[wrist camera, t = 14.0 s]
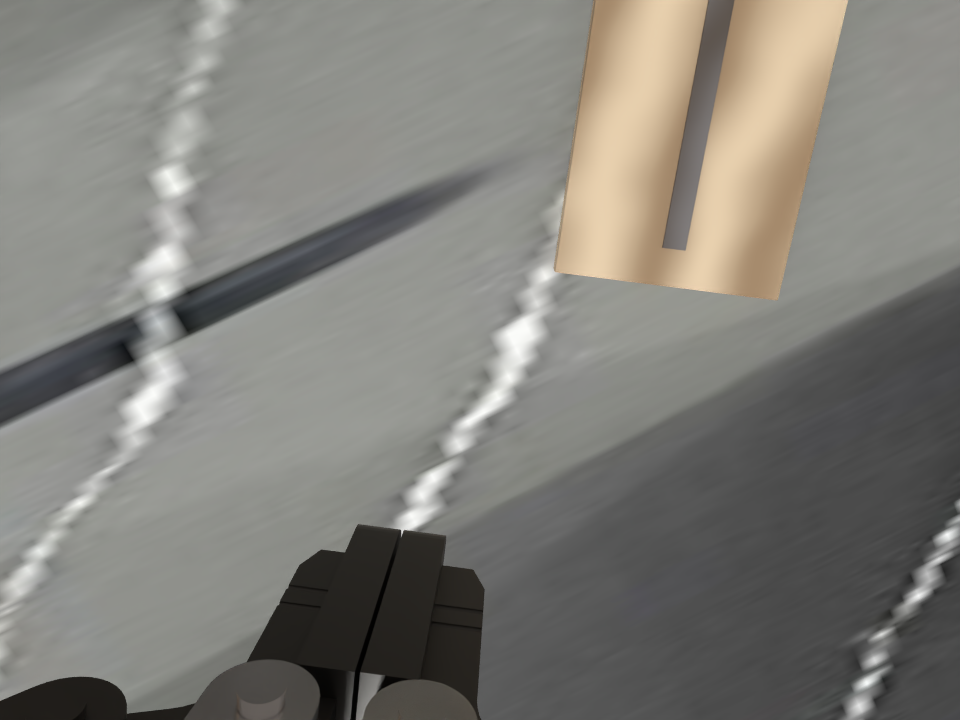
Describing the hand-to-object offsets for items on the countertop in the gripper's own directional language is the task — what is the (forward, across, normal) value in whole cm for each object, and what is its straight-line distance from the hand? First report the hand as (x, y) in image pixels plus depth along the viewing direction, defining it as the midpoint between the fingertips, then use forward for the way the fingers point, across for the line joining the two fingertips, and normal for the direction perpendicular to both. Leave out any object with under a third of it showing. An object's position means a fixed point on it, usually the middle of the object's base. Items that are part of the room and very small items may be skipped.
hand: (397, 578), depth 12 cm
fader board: (+29, -10, -15) cm, 34 cm away
